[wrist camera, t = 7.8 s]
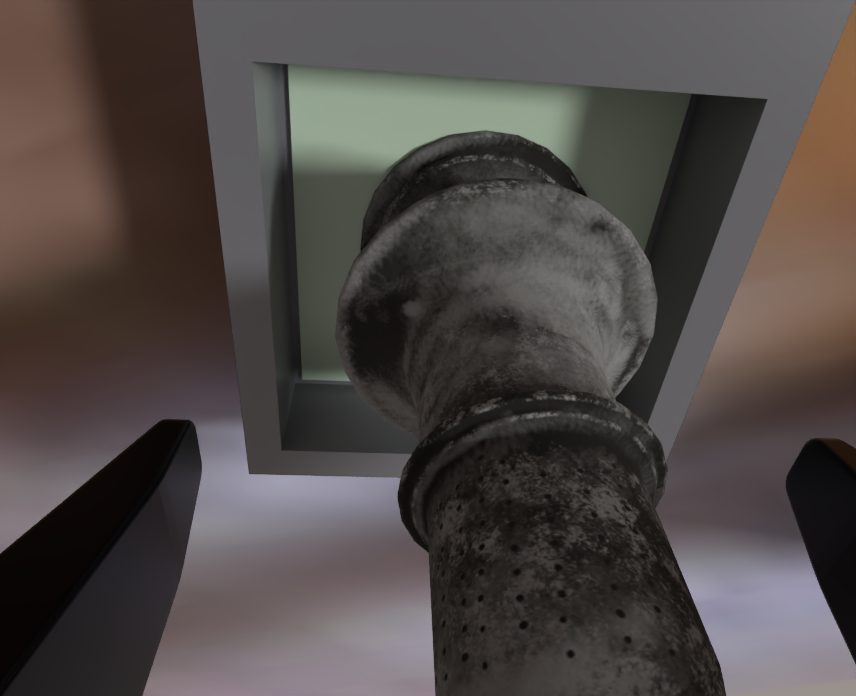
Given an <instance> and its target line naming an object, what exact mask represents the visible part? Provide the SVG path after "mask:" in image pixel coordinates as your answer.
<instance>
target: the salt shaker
mask: <svg viewBox="0 0 856 696" xmlns="http://www.w3.org/2000/svg"><path fill="white" fill-rule="evenodd" d="M360 250H361V252H360V253H359V255H358V256H357V257H356V258H355V259H354V261H353V263H352V266H351V268H350V270H349V273H348V275H347V278H346V280H345V282H344V285H343V287H342V290H341V292H340V294H339V297H338V307H337V319H336V331H335V337H336V341H337V346H338V350H339V354H340V358H341V363H342V367H343V370H344V371H345V373H346V375H347V376H348V378H349V380H350V381H351V383H352V385H353V387H354V388H355V390H356V392H357V393H358V395H359V397H360V398H361V399H362V400H363V401H364V402H365V403H366V404H367V405H368V406H370V407H371V408H372V409H373V410H374V411H375V412H376V413H377V414H378V415H379V416H380V417H381V418H382V419H383V420H384V421H386V422H388V423H390V424H391V425H393V426H395V427H397V428H399V429H400V430H402V431H404V432H406V433H408V434H409V435H411V436H413V437H415V438H418V442H419V444H418V445H417V446H416V448H415V450H414V451H413V453H412V455H411V456H410V458H409V460H408V461H407V463H406V465H405V466H404V468H403V470H402V475H401V480H400V485H399V490H398V503H399V508H400V514H401V519H402V522H403V524H404V525H405V527H406V529H407V530H408V532H409V533H410V535H411V536H412V538H413V540H414V541H415V542H416V543H417V544H419V545H420V546H421V547H422V548H423V549H425V550H426V551H427V552H428V553H429V566H430V588H431V609H432V630H433V651H434V672H435V693H436V696H726V692H725V687H724V681H723V677H722V672H721V668H720V664H719V662H718V659H717V657H716V654H715V652H714V650H713V647H712V645H711V642H710V640H709V638H708V635H707V633H706V630H705V628H704V625H703V623H702V621H701V618H700V616H699V613H698V611H697V609H696V606H695V604H694V601H693V599H692V597H691V594H690V592H689V589H688V587H687V585H686V582H685V580H684V577H683V575H682V572H681V570H680V568H679V565H678V563H677V560H676V558H675V556H674V553H673V551H672V548H671V546H670V544H669V541H668V539H667V536H666V534H665V532H664V529H663V527H662V524H661V522H660V519H659V517H658V515H657V512H656V510H655V508H656V506H657V505H658V503H659V501H660V499H661V497H662V496H663V494H664V489H665V483H666V477H667V471H668V468H667V464H666V460H665V456H664V451H663V447H662V444H661V442H660V440H659V439H658V438H657V436H656V435H655V434H654V432H653V431H652V430H651V428H650V427H649V425H648V424H647V423H646V421H645V420H644V419H642V418H641V417H639V416H638V415H636V414H635V413H633V412H632V411H631V410H629V409H628V408H626V407H625V406H623V405H622V404H620V403H618V402H616V399H615V397H616V396H618V394H619V393H620V392H621V390H622V389H623V388H624V387H625V385H626V384H627V383H628V381H629V380H630V379H631V378H632V376H633V375H634V374H635V372H636V371H637V370H638V369H639V367H640V365H641V363H642V360H643V358H644V356H645V353H646V351H647V349H648V347H649V344H650V342H651V340H652V337H653V335H654V328H655V319H656V311H657V302H658V297H657V293H656V288H655V283H654V278H653V273H652V268H651V264H650V262H649V260H648V259H647V257H646V255H645V254H644V252H643V250H642V249H641V247H640V245H639V244H638V242H637V240H636V239H635V237H634V235H633V234H632V232H631V230H630V229H629V228H628V227H627V226H626V225H625V224H623V223H622V222H621V221H620V220H619V219H618V218H616V217H615V216H614V215H613V214H612V213H611V212H609V211H608V210H607V209H606V208H605V207H604V206H602V205H601V204H600V203H599V202H597V201H595V200H593V199H590V198H588V197H587V194H586V193H585V191H584V190H583V188H582V186H581V185H580V183H579V182H578V180H577V178H576V177H575V175H574V173H573V172H572V170H571V169H570V167H568V166H567V165H566V164H565V163H564V162H563V161H561V160H560V159H559V158H558V157H557V156H556V155H555V154H553V153H552V152H551V151H550V150H549V149H548V148H546V147H544V146H541V145H539V144H537V143H535V142H533V141H530V140H528V139H526V138H524V137H521V136H519V135H514V134H508V133H501V132H494V131H487V130H483V131H475V132H467V133H459V134H451V135H449V136H446V137H444V138H441V139H439V140H436V141H434V142H431V143H429V144H426V145H424V146H421V147H420V148H418V149H417V150H416V151H414V152H413V153H412V154H410V155H409V156H408V157H406V158H405V159H404V160H402V161H401V162H400V163H398V164H397V165H396V166H394V167H393V169H392V170H391V171H390V172H389V174H388V175H387V176H386V178H385V179H384V180H383V181H382V183H381V184H380V185H379V187H378V188H377V189H376V190H375V192H374V194H373V197H372V199H371V202H370V204H369V207H368V209H367V212H366V214H365V216H364V219H363V229H362V238H361V248H360Z"/></svg>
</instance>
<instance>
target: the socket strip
mask: <svg viewBox="0 0 856 696" xmlns="http://www.w3.org/2000/svg"><path fill="white" fill-rule="evenodd" d="M854 3H855V0H193V8H194V17H195V25H196V33H197V42H198V50H199V58H200V67H201V75H202V84H203V92H204V100H205V109H206V117H207V125H208V134H209V142H210V151H211V159H212V167H213V176H214V184H215V192H216V201H217V209H218V218H219V226H220V234H221V243H222V251H223V259H224V268H225V276H226V285H227V293H228V301H229V310H230V318H231V326H232V335H233V343H234V351H235V360H236V368H237V377H238V385H239V393H240V402H241V410H242V418H243V427H244V435H245V444H246V452H247V460H248V469H249V474H271V475H314V476H356V477H399V478H401V475H402V470H403V468H404V466H405V465H406V463H407V461H408V460H409V458H410V456H411V455H412V453H413V451H414V450H415V448H416V446H417V445H418V444H419V442H418V438H415V437H413V436H411V435H409V434H408V433H406V432H404V431H402V430H400V429H399V428H397V427H395V426H393V425H391V424H390V423H388V422H386V421H384V420H383V419H382V418H381V417H380V416H379V415H378V414H377V413H376V412H375V411H374V410H373V409H372V408H371V407H370V406H368V405H367V404H366V403H365V402H364V401H363V400H362V399H361V398H360V397H359V395H358V393H357V392H356V390H355V388H354V387H353V385H352V383H351V381H350V380H349V378H348V376H347V375H346V373H345V371H344V370H343V367H342V363H341V358H340V354H339V350H338V346H337V341H336V337H335V331H336V319H337V307H338V297H339V294H340V292H341V290H342V287H343V285H344V282H345V280H346V278H347V275H348V273H349V270H350V268H351V266H352V263H353V261H354V259H355V258H356V257H357V256H358V255H359V253H360V252H361V250H360V248H361V238H362V229H363V219H364V216H365V214H366V212H367V209H368V207H369V204H370V202H371V199H372V197H373V194H374V192H375V190H376V189H377V188H378V187H379V185H380V184H381V183H382V181H383V180H384V179H385V178H386V176H387V175H388V174H389V172H390V171H391V170H392V169H393V167H394V166H396V165H397V164H398V163H400V162H401V161H402V160H404V159H405V158H406V157H408V156H409V155H410V154H412V153H413V152H414V151H416V150H417V149H418V148H420V147H421V146H424V145H426V144H429V143H431V142H434V141H436V140H439V139H441V138H444V137H446V136H449V135H451V134H459V133H467V132H475V131H483V130H487V131H494V132H501V133H508V134H514V135H519V136H521V137H524V138H526V139H528V140H530V141H533V142H535V143H537V144H539V145H541V146H544V147H546V148H548V149H549V150H550V151H551V152H552V153H553V154H555V155H556V156H557V157H558V158H559V159H560V160H561V161H563V162H564V163H565V164H566V165H567V166H568V167H570V169H571V170H572V172H573V173H574V175H575V177H576V178H577V180H578V182H579V183H580V185H581V186H582V188H583V190H584V191H585V193H586V194H587V197H588V198H590V199H593V200H595V201H597V202H599V203H600V204H601V205H602V206H604V207H605V208H606V209H607V210H608V211H609V212H611V213H612V214H613V215H614V216H615V217H616V218H618V219H619V220H620V221H621V222H622V223H623V224H625V225H626V226H627V227H628V228H629V229H630V230H631V232H632V234H633V235H634V237H635V239H636V240H637V242H638V244H639V245H640V247H641V249H642V250H643V252H644V254H645V255H646V257H647V259H648V260H649V262H650V264H651V268H652V273H653V278H654V283H655V288H656V293H657V297H658V302H657V311H656V319H655V328H654V335H653V337H652V340H651V342H650V344H649V347H648V349H647V351H646V353H645V356H644V358H643V360H642V363H641V365H640V367H639V369H638V370H637V371H636V372H635V374H634V375H633V376H632V378H631V379H630V380H629V381H628V383H627V384H626V385H625V387H624V388H623V389H622V390H621V392H620V393H619V394H618V396H616V397H615V399H616V402H618V403H620V404H622V405H623V406H625V407H626V408H628V409H629V410H631V411H632V412H633V413H635V414H636V415H638V416H639V417H641V418H642V419H644V420H645V421H646V423H647V424H648V425H649V427H650V428H651V430H652V431H653V432H654V434H655V435H656V436H657V438H658V439H659V440H660V442H661V444H662V447H663V451H664V456H665V460H666V461H667V459H668V456H669V454H670V451H671V449H672V446H673V444H674V442H675V439H676V437H677V434H678V432H679V429H680V427H681V425H682V422H683V420H684V417H685V415H686V412H687V410H688V407H689V405H690V403H691V400H692V398H693V395H694V393H695V390H696V388H697V385H698V383H699V381H700V378H701V376H702V373H703V371H704V368H705V366H706V364H707V361H708V359H709V356H710V354H711V351H712V349H713V346H714V344H715V342H716V339H717V337H718V334H719V332H720V329H721V327H722V325H723V322H724V320H725V317H726V315H727V312H728V310H729V307H730V305H731V303H732V300H733V298H734V295H735V293H736V290H737V288H738V286H739V283H740V281H741V278H742V276H743V273H744V271H745V268H746V266H747V264H748V261H749V259H750V256H751V254H752V251H753V249H754V246H755V244H756V242H757V239H758V237H759V234H760V232H761V229H762V227H763V225H764V222H765V220H766V217H767V215H768V212H769V210H770V207H771V205H772V203H773V200H774V198H775V195H776V193H777V190H778V188H779V186H780V183H781V181H782V178H783V176H784V173H785V171H786V168H787V166H788V164H789V161H790V159H791V156H792V154H793V151H794V149H795V147H796V144H797V142H798V139H799V137H800V134H801V132H802V129H803V127H804V125H805V122H806V120H807V117H808V115H809V112H810V110H811V107H812V105H813V103H814V100H815V98H816V95H817V93H818V90H819V88H820V86H821V83H822V81H823V78H824V76H825V73H826V71H827V68H828V66H829V64H830V61H831V59H832V56H833V54H834V51H835V49H836V47H837V44H838V42H839V39H840V37H841V34H842V32H843V29H844V27H845V25H846V22H847V20H848V17H849V15H850V12H851V10H852V8H853V5H854Z"/></svg>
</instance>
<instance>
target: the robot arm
mask: <svg viewBox="0 0 856 696" xmlns="http://www.w3.org/2000/svg"><path fill="white" fill-rule="evenodd" d="M201 472H202V462H201V456H200V450H199V445H198V439H197V434H196V428H195V426H194V424H193V422H192V421H190V420H179V419H164V420H161V421H159V422H158V423H157V424H155V425H154V426H153V427H152V428H151V429H149V430H148V431H147V432H146V433H145V434H143V435H142V436H141V437H140V438H139V439H137V440H136V441H135V442H134V443H133V444H131V445H130V446H129V447H128V448H127V449H125V450H124V451H123V452H122V453H121V454H119V455H118V456H117V457H116V458H115V459H113V460H112V461H111V462H110V463H109V464H107V465H106V466H105V467H104V468H103V469H101V470H100V471H99V472H98V473H97V474H95V475H94V476H93V477H92V478H91V479H89V480H88V481H87V482H86V483H85V484H83V485H82V486H81V487H80V488H79V489H77V490H76V491H75V492H74V493H73V494H71V495H70V496H69V497H68V498H67V499H65V500H64V501H63V502H62V503H61V504H59V505H58V506H57V507H56V508H55V509H53V510H52V511H51V512H50V513H49V514H47V515H46V516H45V517H44V518H43V519H41V520H40V521H39V522H38V523H37V524H35V525H34V526H33V527H32V528H31V529H29V530H28V531H27V532H26V533H25V534H23V535H22V536H21V537H20V538H19V539H17V540H16V541H15V542H14V543H13V544H11V545H10V546H9V547H8V548H7V549H5V550H4V551H3V552H2V553H1V554H0V696H142V695H143V692H144V689H145V686H146V683H147V680H148V676H149V673H150V670H151V667H152V664H153V661H154V658H155V655H156V652H157V649H158V646H159V643H160V640H161V637H162V634H163V631H164V628H165V625H166V622H167V619H168V616H169V613H170V610H171V607H172V604H173V600H174V597H175V594H176V591H177V588H178V584H179V581H180V577H181V573H182V568H183V564H184V559H185V554H186V549H187V544H188V539H189V534H190V530H191V525H192V520H193V515H194V510H195V505H196V500H197V495H198V490H199V485H200V480H201ZM786 491H787V494H788V497H789V500H790V503H791V506H792V509H793V512H794V515H795V517H796V520H797V523H798V526H799V529H800V532H801V535H802V538H803V541H804V543H805V546H806V549H807V552H808V555H809V558H810V561H811V564H812V567H813V569H814V572H815V575H816V577H817V580H818V583H819V585H820V588H821V590H822V592H823V594H824V597H825V599H826V601H827V603H828V606H829V608H830V610H831V612H832V614H833V616H834V619H835V621H836V623H837V625H838V627H839V629H840V631H841V634H842V636H843V638H844V640H845V642H846V644H847V647H848V649H849V651H850V653H851V655H852V657H853V659H854V662H855V664H856V449H855V448H854V447H852V446H850V445H849V444H847V443H846V442H844V441H842V440H839V439H827V438H814V439H811V440H809V441H808V442H806V444H805V445H804V447H803V448H802V450H801V452H800V454H799V455H798V457H797V459H796V461H795V462H794V464H793V466H792V468H791V469H790V471H789V473H788V475H787V478H786Z"/></svg>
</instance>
